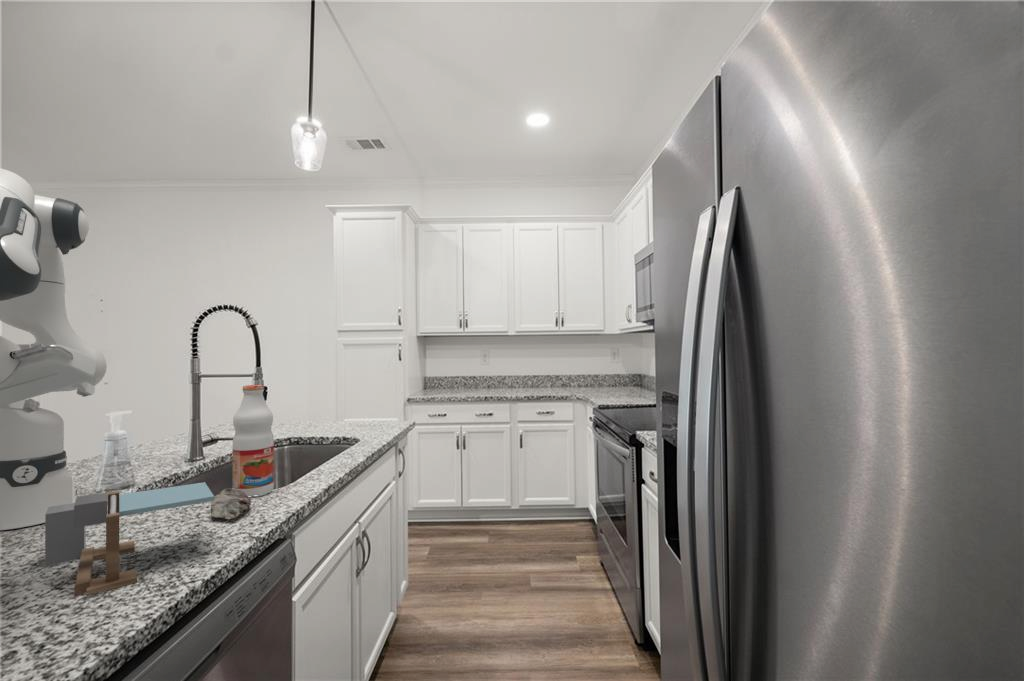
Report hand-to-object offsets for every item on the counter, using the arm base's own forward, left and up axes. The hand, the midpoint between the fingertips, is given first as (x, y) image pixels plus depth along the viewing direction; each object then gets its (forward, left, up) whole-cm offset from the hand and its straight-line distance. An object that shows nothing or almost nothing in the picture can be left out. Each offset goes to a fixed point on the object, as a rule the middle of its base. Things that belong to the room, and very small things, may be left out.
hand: (62, 400), depth 82 cm
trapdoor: (+8, +11, -20) cm, 24 cm away
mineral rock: (-9, +27, -29) cm, 41 cm away
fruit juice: (-22, +34, -29) cm, 50 cm away
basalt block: (-3, 0, -29) cm, 29 cm away
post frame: (+8, +7, -29) cm, 31 cm away
